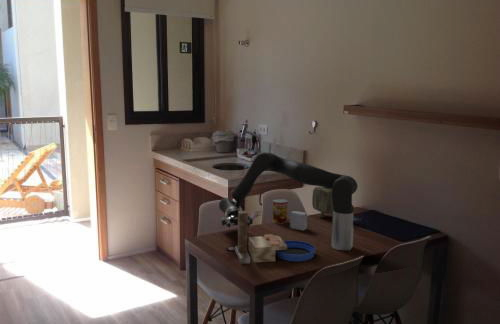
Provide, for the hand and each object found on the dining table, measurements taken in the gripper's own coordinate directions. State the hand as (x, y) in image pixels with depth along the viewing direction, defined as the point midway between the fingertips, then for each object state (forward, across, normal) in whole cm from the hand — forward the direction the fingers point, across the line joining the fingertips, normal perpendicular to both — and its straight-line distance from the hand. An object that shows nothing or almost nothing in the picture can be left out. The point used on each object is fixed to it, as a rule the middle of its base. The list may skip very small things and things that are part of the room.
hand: (239, 225), depth 202 cm
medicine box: (-26, +36, +12) cm, 46 cm away
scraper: (+9, 0, +12) cm, 15 cm away
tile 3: (+5, +13, +5) cm, 15 cm away
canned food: (-40, +29, +12) cm, 50 cm away
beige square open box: (+9, +11, +12) cm, 18 cm away
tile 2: (+10, +14, +5) cm, 18 cm away
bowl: (+9, +24, +12) cm, 28 cm away
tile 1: (+14, +13, +5) cm, 20 cm away
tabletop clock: (-44, +57, +12) cm, 73 cm away
